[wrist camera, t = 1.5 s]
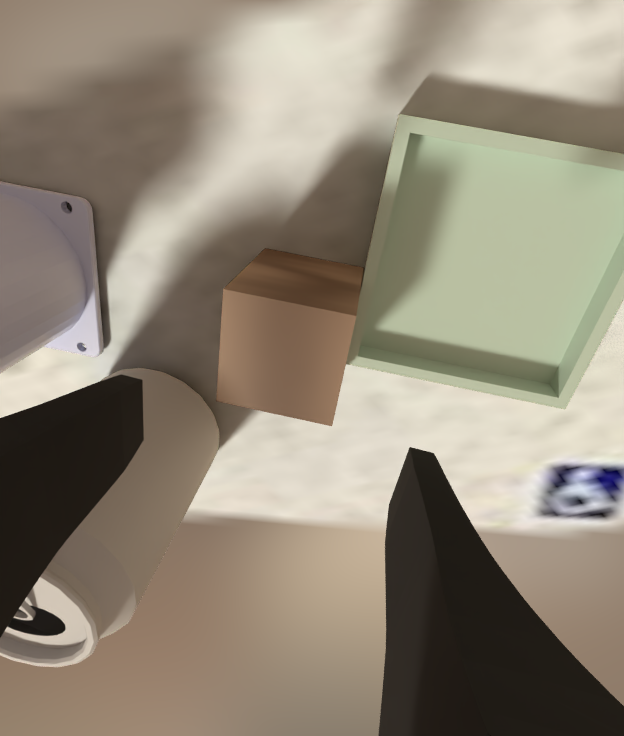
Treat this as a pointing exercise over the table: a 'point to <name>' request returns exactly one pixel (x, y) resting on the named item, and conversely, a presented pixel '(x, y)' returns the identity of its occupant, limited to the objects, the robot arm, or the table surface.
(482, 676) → the robot arm
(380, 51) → the table surface
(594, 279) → the tray
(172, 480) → the can
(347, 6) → the table surface
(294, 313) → the block
